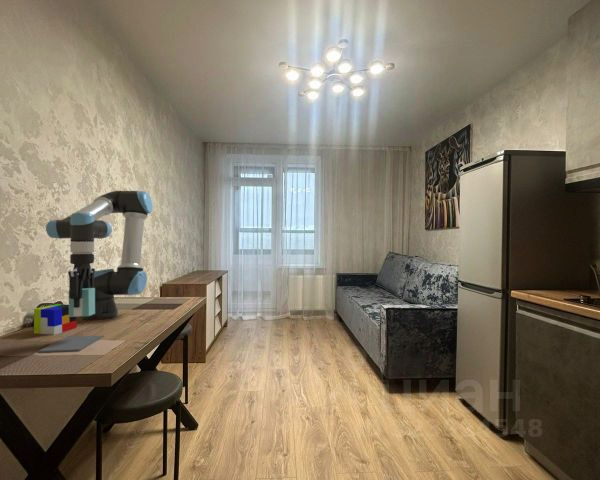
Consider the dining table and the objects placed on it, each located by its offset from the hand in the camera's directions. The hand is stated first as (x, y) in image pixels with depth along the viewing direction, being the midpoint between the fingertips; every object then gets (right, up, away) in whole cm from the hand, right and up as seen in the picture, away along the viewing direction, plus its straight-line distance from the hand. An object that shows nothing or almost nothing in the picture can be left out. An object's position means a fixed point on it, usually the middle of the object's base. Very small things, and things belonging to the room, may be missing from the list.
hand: (82, 314), depth 121 cm
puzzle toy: (-19, -10, +12) cm, 25 cm away
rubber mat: (+1, -10, -6) cm, 11 cm away
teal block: (0, 0, 0) cm, 0 cm away
